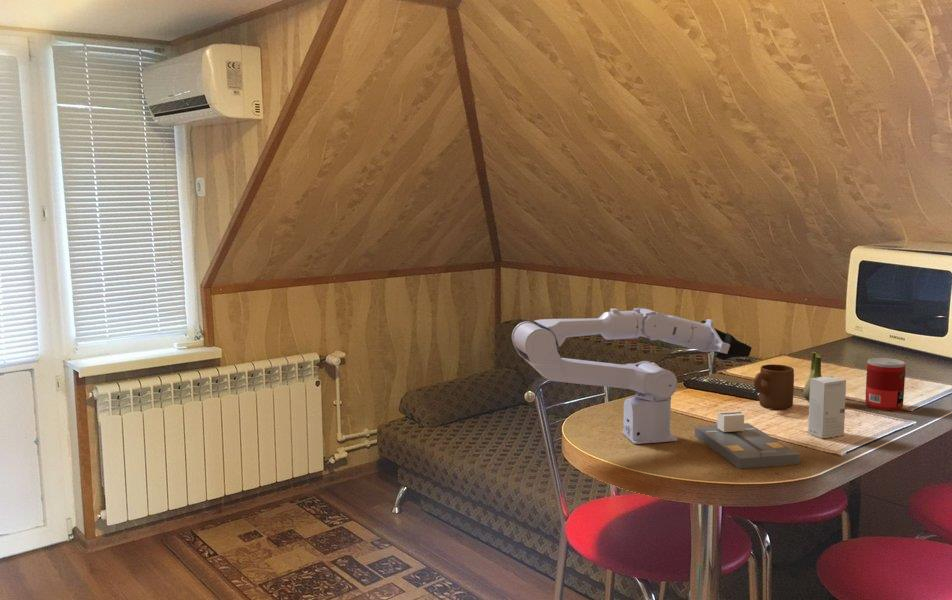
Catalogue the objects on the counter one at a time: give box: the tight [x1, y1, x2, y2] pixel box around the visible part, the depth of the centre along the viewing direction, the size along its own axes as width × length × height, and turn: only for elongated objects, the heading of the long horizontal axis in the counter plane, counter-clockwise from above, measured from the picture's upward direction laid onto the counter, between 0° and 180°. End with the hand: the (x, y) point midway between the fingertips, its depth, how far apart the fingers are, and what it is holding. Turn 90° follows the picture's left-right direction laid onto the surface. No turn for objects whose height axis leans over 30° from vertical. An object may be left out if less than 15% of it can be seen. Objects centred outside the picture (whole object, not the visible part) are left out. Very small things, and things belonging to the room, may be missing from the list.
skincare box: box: [807, 375, 847, 439], centre depth 166 cm, size 6×4×12 cm
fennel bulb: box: [802, 351, 823, 402], centre depth 191 cm, size 6×5×12 cm
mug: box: [753, 363, 795, 411], centre depth 186 cm, size 12×8×9 cm, turn 124°
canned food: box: [864, 357, 907, 412], centre depth 185 cm, size 8×8×11 cm
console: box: [694, 421, 800, 470], centre depth 159 cm, size 12×20×3 cm, turn 9°
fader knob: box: [716, 410, 745, 432], centre depth 164 cm, size 4×3×4 cm
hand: (739, 346), depth 170 cm, fingers open, 7 cm apart
